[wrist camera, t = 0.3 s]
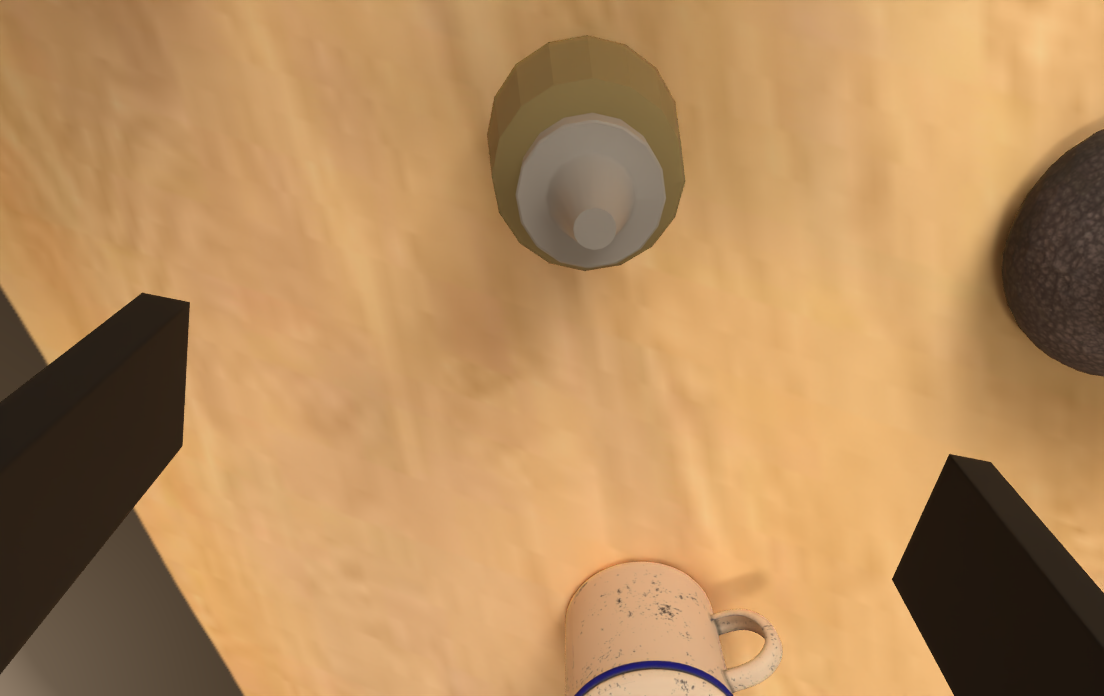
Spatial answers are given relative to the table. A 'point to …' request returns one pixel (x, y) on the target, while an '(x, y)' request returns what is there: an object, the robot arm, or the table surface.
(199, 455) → the table surface
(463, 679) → the table surface
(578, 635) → the teacup with lid
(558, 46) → the squeeze bottle
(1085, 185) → the teapot
